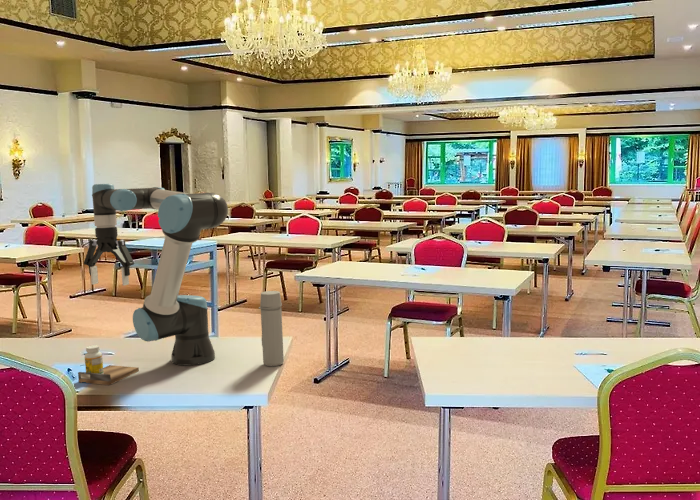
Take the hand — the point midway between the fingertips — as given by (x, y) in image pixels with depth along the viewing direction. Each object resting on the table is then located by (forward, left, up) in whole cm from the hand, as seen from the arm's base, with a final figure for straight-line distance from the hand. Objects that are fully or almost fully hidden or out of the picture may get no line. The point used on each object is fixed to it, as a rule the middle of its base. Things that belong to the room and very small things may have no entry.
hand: (110, 284), depth 239 cm
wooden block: (-15, +22, -27) cm, 38 cm away
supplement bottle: (-12, +25, -26) cm, 38 cm away
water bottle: (-62, -4, -27) cm, 68 cm away
